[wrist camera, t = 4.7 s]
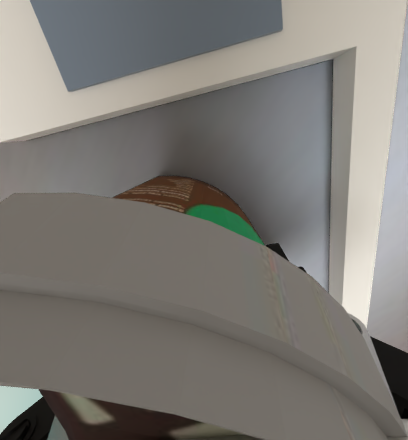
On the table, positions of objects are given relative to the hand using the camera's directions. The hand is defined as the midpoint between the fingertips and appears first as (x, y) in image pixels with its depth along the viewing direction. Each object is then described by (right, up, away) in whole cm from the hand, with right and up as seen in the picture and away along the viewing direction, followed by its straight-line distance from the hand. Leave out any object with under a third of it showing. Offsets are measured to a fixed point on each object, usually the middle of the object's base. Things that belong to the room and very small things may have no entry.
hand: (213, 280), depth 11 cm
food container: (+1, +1, +2) cm, 3 cm away
